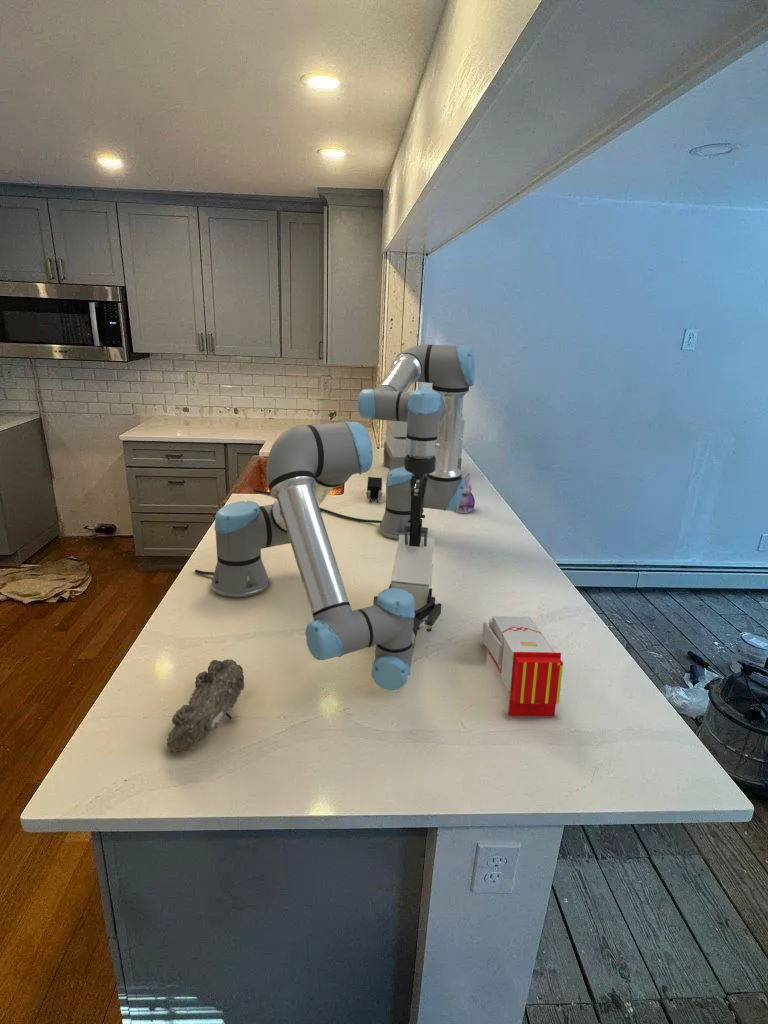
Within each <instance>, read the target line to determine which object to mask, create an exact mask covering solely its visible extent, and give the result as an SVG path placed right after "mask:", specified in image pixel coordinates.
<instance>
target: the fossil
mask: <svg viewBox="0 0 768 1024" xmlns="http://www.w3.org/2000/svg"><path fill="white" fill-rule="evenodd" d="M243 670H244V669H243V667H242V665H240V664H237V662H236V661H235V660H234V659H232V658H231V659H227V658H226V659H224V660H223V661H222V660H217V659H212V660H211V661H210V663H209V665H208V666H207V671H201V672H199V673H198V674H197V675H196V676H195V680H194V684H195V685H194V687H195V689H194V690H193V693H192V694H191V697H190V698H189V700H188V704H184V705H182V706H181V707H180V709H177V710H176V711H175V713H174V715H173V716H172V718H171V723H172V724H173V727H172V730H171V731H170V732H168V734H167V738H166V741H167V742H166V745H167V749H168V750H169V751H173V752H174V753H176V754H178V753H182V752H188V751H189V752H192V751H193V750H195V748H196V747H197V746H199V744H200V743H201V742H203V741H204V740H205V739H206V738H207V737H208V736H209V735H210V734H211V733H212V732H214V730H215V729H217V727H218V726H219V724H220V722H221V721H222V720H223V719H224V718H225V716H226V717H227V719H229V720H233V717H232V715H230V714H229V710H230V709H231V708H234V706H235V704H236V703H237V702H238V699H239V697H240V695H241V693H242V691H243V690H245V689H244V688H245V675H244V671H243Z"/></svg>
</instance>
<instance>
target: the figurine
mask: <svg viewBox="0 0 768 1024" xmlns="http://www.w3.org/2000/svg"><path fill="white" fill-rule="evenodd" d="M462 477H463V478H465V484H464V489H463V493H462V497H461V501H460V505H459V508H458V509H457V510H455V512H456V513H458V514H467V513H469V514H470V513H472V512H473V511H474V509H475V505H476V501H475V497H474V494H473V493H472V490H473V488H472V485H471V482H470V478H471V473H470V472H467V474H466V475H465V476H463V474H462V473H461V478H462Z"/></svg>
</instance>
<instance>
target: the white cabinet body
mask: <svg viewBox="0 0 768 1024" xmlns="http://www.w3.org/2000/svg"><path fill="white" fill-rule="evenodd" d="M433 569H434V564H433V563H432V566H431V574H430V582H429V587H428V586H419V585H410V584H401V583H392V582H390V584H391V588H399V589H403V590H406V591H408V592H409V593H410V594H411V595H412V596H413V598H414V604H415V610H416V611H417V610H418V609H420V608H421V607H423V606H424V605H426V604H427V598H428V593H429V588H432V584H433V583H432V582H433ZM427 617H428V616H427ZM427 617H425V618H424V619H423V620H422V621H425V619H426V618H427Z"/></svg>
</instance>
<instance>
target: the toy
mask: <svg viewBox="0 0 768 1024" xmlns="http://www.w3.org/2000/svg"><path fill="white" fill-rule="evenodd" d="M481 632H482V633H481V640H482V642H483V644H484V646H485V648H486V650H487V652H488V654H489V655H490V657H491V659H492V661H493V663H494V664H495V666H496V668H497V670H498V671H499V674H500V676H501V678H502V680H503V682H504V684H505V687H506V688H507V690H508V692H509V700H508V702H509V703H508V710H507V711H508V712H507V715H508V717H551V718H552V717H553V718H555V716H556V707H557V705H559V704H560V698H561V697H560V695H561V688H562V687H561V686H562V678H563V669H564V662H563V661H562V653H561V652H556V651H555V649H554V648H553V647H552V645H551V644H550V643H549V641H548V639H547V638H546V637H545V635H544V634H543V633H542V631H541V630H540V629H539V628H538V626H537V624H536V622H535V621H534V620H533V619H532V617H531V616H514V615H513V616H512V615H511V616H508V615H507V616H506V615H505V616H504V615H492V618H489V620H488V623H487V621H483V623H482V631H481Z"/></svg>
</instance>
